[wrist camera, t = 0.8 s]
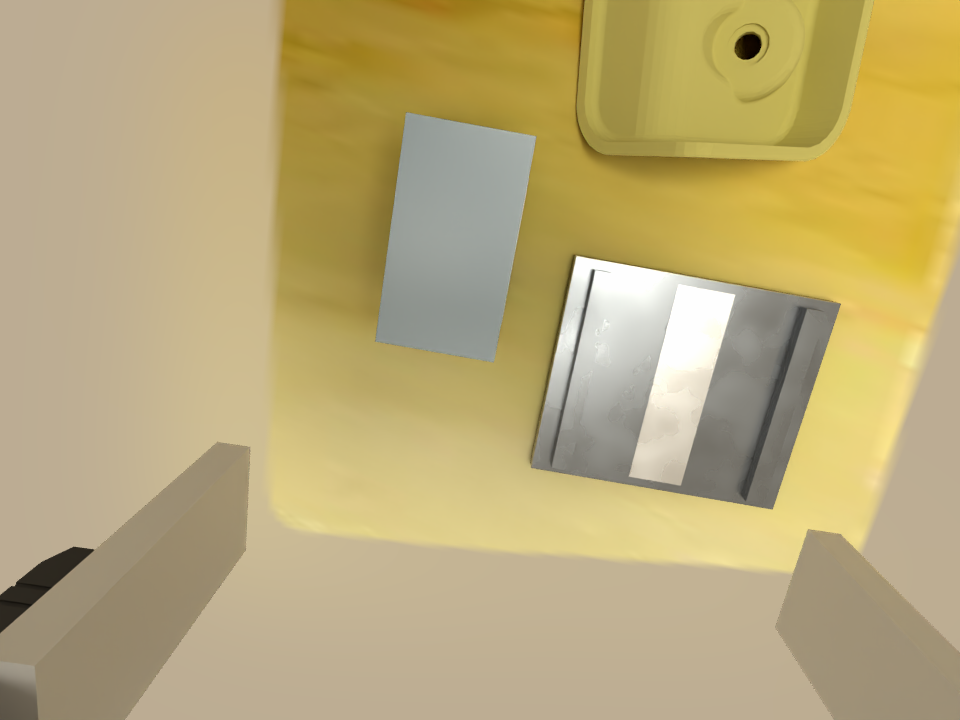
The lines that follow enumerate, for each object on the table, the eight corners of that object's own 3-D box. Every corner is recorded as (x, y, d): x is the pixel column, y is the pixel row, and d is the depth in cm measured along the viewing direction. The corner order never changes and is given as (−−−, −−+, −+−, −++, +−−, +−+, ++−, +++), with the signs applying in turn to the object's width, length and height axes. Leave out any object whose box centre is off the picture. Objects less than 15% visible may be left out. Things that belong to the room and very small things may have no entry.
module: (427, 136, 30) (404, 111, 22) (526, 154, 30) (537, 136, 23) (402, 309, 32) (374, 341, 25) (494, 325, 33) (495, 362, 25)
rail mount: (574, 254, 31) (578, 257, 30) (832, 301, 32) (848, 306, 30) (530, 461, 34) (531, 473, 33) (766, 502, 35) (778, 515, 33)
